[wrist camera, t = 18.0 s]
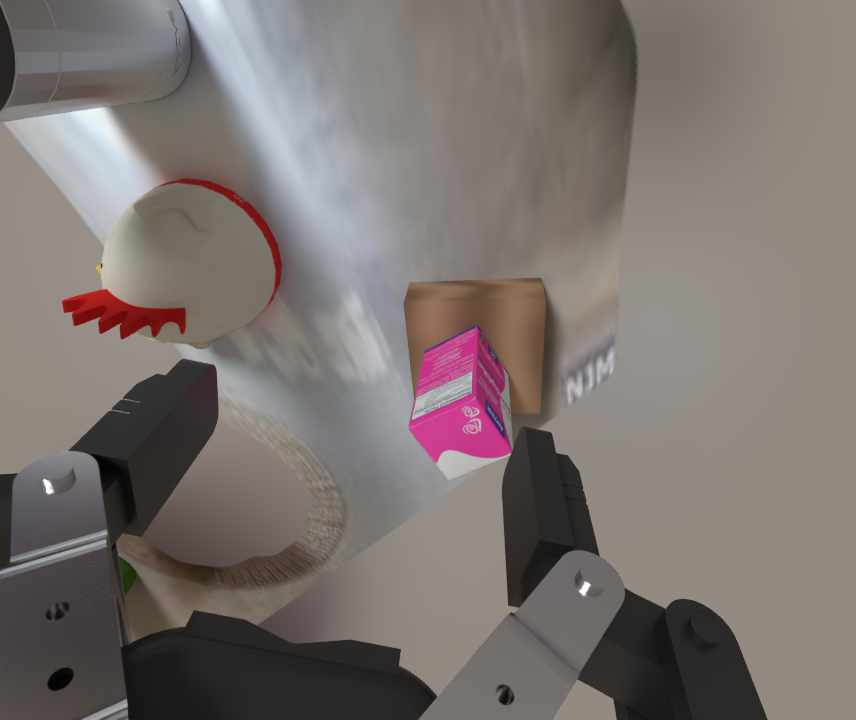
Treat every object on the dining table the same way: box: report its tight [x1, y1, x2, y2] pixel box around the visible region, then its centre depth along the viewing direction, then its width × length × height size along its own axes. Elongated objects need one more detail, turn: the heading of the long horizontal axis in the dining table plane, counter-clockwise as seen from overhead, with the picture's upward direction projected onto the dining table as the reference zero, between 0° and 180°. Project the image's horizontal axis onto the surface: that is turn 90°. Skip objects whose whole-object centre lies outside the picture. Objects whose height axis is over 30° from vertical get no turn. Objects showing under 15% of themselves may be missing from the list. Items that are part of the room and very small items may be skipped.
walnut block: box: [404, 278, 546, 414], centre depth 47 cm, size 12×12×5 cm
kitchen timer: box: [62, 179, 281, 349], centre depth 41 cm, size 14×14×15 cm
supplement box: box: [408, 325, 513, 480], centre depth 40 cm, size 6×6×12 cm
